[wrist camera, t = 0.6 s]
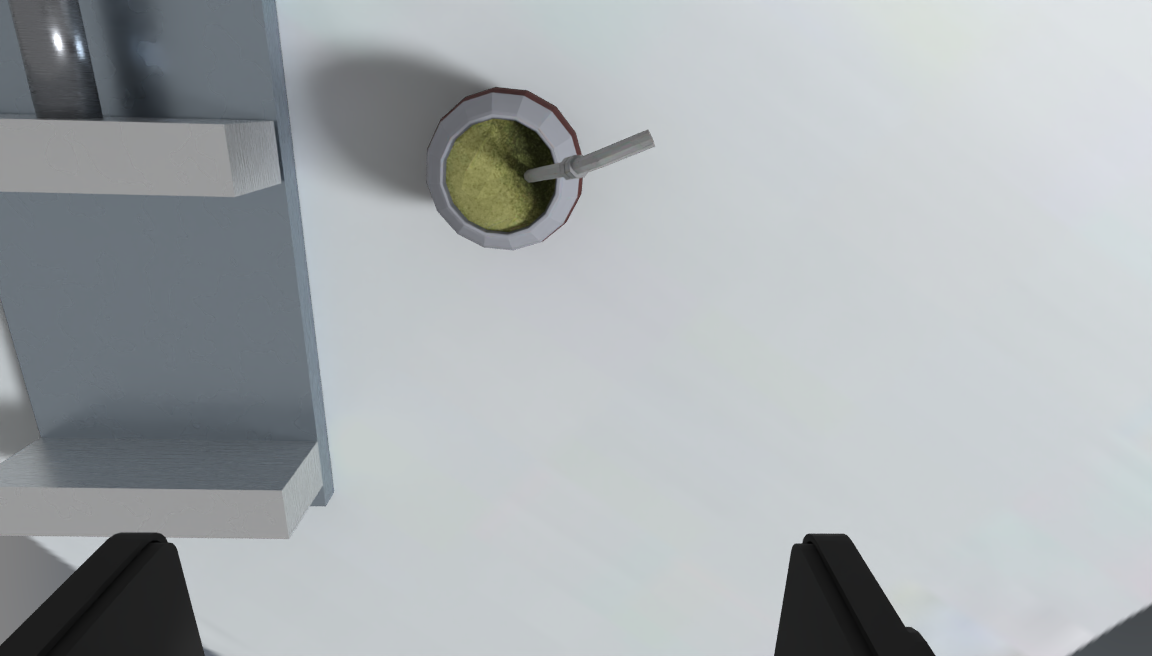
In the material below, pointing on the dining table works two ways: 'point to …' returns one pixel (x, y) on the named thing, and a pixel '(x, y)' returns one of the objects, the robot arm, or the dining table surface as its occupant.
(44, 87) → the vise jaw
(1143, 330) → the dining table surface
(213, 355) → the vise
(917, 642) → the robot arm
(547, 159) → the mate gourd
